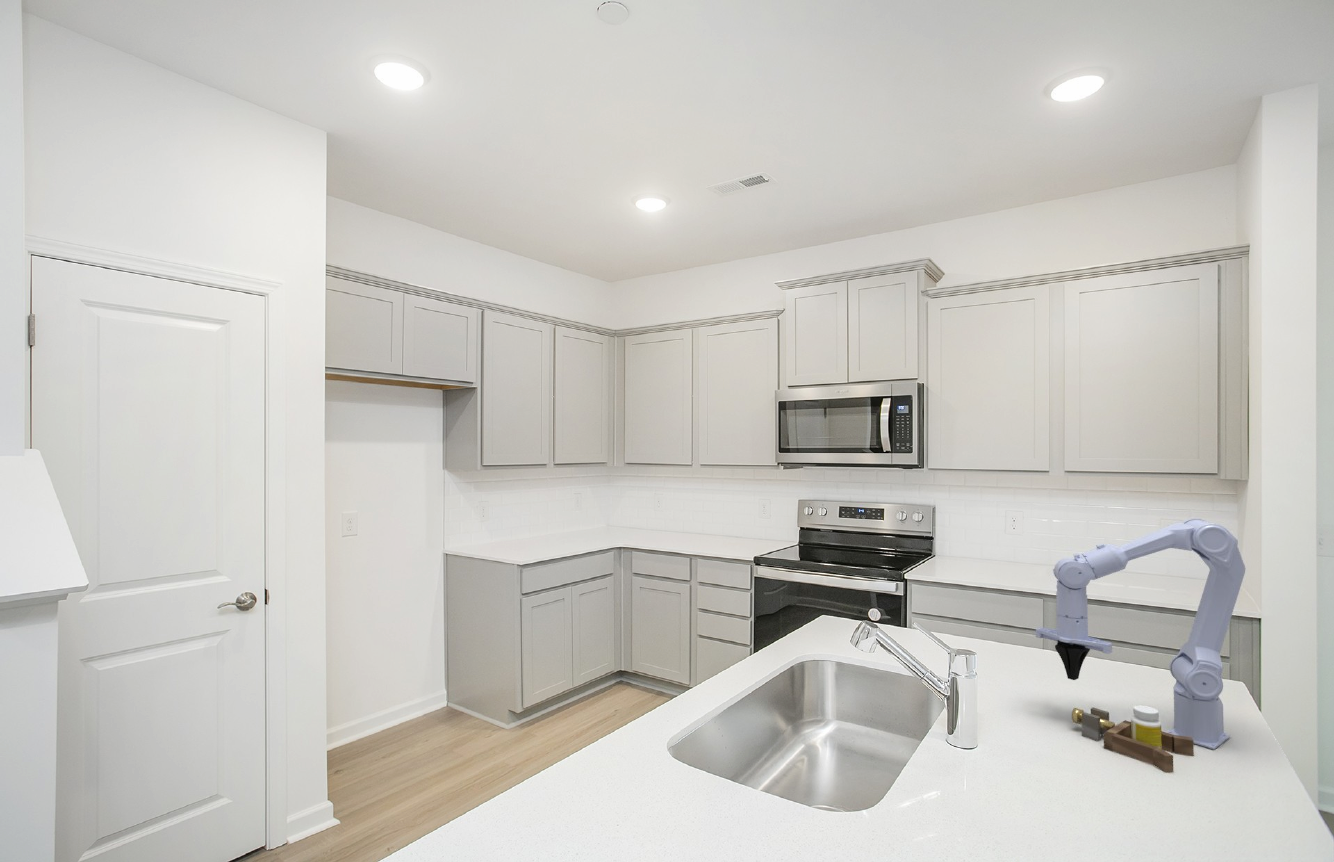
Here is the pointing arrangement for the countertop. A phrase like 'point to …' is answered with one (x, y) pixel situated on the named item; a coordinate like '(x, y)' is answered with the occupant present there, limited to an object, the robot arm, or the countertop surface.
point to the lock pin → (1078, 719)
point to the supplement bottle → (1146, 725)
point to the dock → (1135, 741)
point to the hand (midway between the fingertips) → (1073, 678)
